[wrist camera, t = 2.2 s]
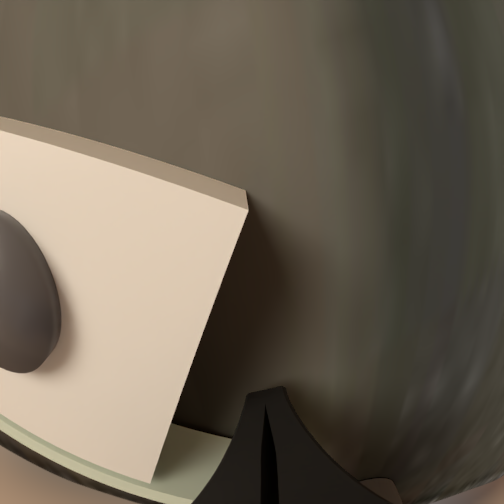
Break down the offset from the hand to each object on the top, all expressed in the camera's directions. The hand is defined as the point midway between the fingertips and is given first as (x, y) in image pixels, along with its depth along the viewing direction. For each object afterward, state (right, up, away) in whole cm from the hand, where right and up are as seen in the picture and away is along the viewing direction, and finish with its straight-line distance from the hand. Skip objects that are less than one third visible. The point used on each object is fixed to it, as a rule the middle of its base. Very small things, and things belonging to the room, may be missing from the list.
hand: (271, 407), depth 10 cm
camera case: (-8, +5, 0) cm, 9 cm away
